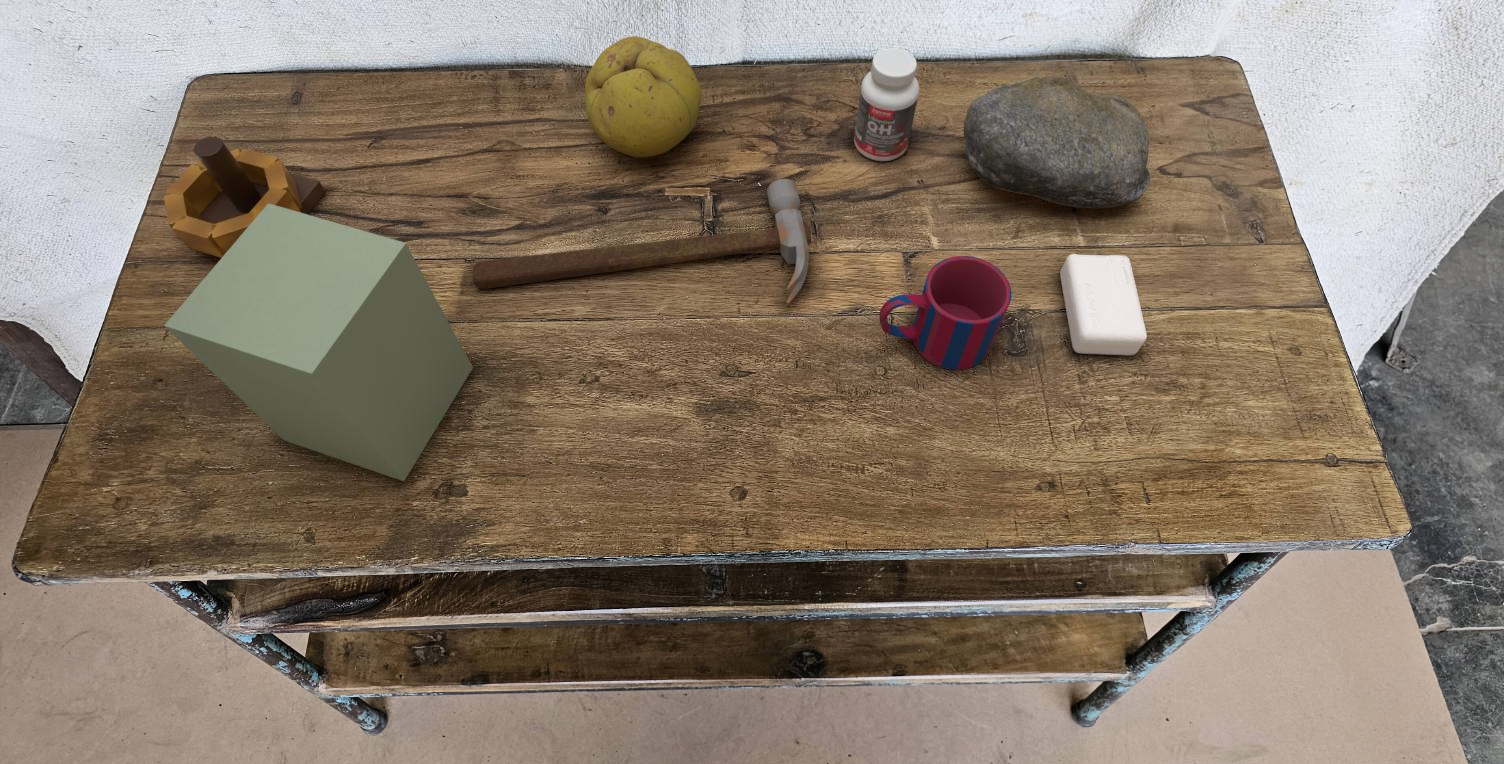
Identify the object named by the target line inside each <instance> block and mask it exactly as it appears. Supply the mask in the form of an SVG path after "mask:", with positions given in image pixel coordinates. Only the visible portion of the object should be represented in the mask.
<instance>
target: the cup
mask: <svg viewBox="0 0 1504 764" xmlns="http://www.w3.org/2000/svg"><path fill="white" fill-rule="evenodd" d="M1011 301H1012V288H1011V284H1010V281H1009V280H1008V278H1007V276H1006V275H1005V274H1004V272H1003V271H1002V270H1000V268H998V267H997V266H996V265H994V264H993V263H991V262H989V261H988V260H985V259H982V258H979V257H977V256H976V257H975V256H970V255H956V256H950V257H948V258H944V259H943V260H941V261H938V262H937V263H936V264H935V265H933V267H932V268H931V269H930V270H929V272H928V274H927V275H926V279H925V282H924V285H923V290H922V292H921V294H913V293H912V294H911V293H907V294H906V293H905V294H899V295H895V296H892V297H891V298H889V299H888V300H886V302H883V303H884V304H883V305H882V306H881V308H880V309H879V325H880V326H881V329H882V331H883V332H884V333H885V334H887V335H889V336H890V337H891V336H892V337H894V338H901V339H908V340H912V341H913V345H914V347H915V348H916V350H917V352H918V353H919V354H920V355H921V357H922V358H924V359H925V360H926V361H927V362H928V363H930V364H932V365H934V366H936V367H938V368H942V369H946V370H951V371H952V370H953V371H960V370H961V371H962V370H967V369H970V368H973V367H976V366H977V365H979V364H980V363H981V362H982V361H984V359H986V357H987V356H988V355H989V353H990V350H991V348H992V346H993V343H994V341H995V339H996V336H997V334H998V332H999V330H1000V327H1001V325H1002V324H1003V321H1004V318H1005V316H1006V313H1007V311H1008V309H1009V307H1010V304H1011ZM906 306H914V307H918V308H917V311H916V314H915V317H914V322H913V325H912V326H898V325H894V324H891V323H888V322H887V318H888V316H889V315H890V313H891V312H892V311H895V309H897V308H900V307H906Z"/></svg>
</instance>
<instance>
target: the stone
mask: <svg viewBox="0 0 1504 764" xmlns="http://www.w3.org/2000/svg"><path fill="white" fill-rule="evenodd" d="M963 137H964V147H965V148H964V150H965V154H966V156H967V159H968V161H969V165H970V167H971V168H972V169H973V171H974V172H975V174H976V176H978V178H979V179H980V180H982V181H983V182H984V183H985V184H987V186H989V187H990V188H993V189H997V190H1003V191H1006V192H1011V193H1013V194H1021V195H1029V196H1033V197H1035V198H1038V199H1042V200H1045V201H1048V202H1050V203H1054V204H1057V205H1061V206H1064V207H1065V206H1066V207H1071V208H1078V209H1111V208H1116V207H1119V206H1122V205H1127V204H1130V203H1133V202H1136V201H1138V200H1140V199H1141V198H1142V197H1143V195H1144V193H1145V191H1147V189H1148V187H1149V185H1150V181H1151V174H1150V172H1149V169H1148V168H1147V166H1148V162H1149V161H1148V159H1149V145H1150V139H1149V133H1148V130H1147V127H1146V124H1145V121H1144V118H1143V117H1142V114H1141V112H1140V111H1139V110H1138V108H1137V107H1136V106H1135V105H1134V104H1133V103H1132V102H1131V101H1130V100H1129V99H1127V98H1125V97H1123V96H1121V95H1119V94H1113V93H1099V94H1092V93H1090V92H1089V91H1086V90H1085V89H1084V88H1082V87H1080V86H1079V85H1078V84H1077V83H1076V82H1075V81H1073V80H1072V79H1070V78H1067V77H1063V76H1053V75H1049V76H1043V77H1040V76H1036V75H1035V76H1032V77H1029V78H1027V79H1024V80H1021V81H1018V82H1017V81H1016V82H1014V83H1010V84H1009V83H1008V84H1006V85H1001V86H998V87H996V88H994V89H992V90H990V91H988V92H987V93H986V94H984V95H981V96H979V97H976V99H974V100H972V101H971V103H970V104H969V106H968V108H967V110H966V115H965V119H964V125H963Z"/></svg>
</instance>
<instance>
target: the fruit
mask: <svg viewBox="0 0 1504 764" xmlns="http://www.w3.org/2000/svg"><path fill="white" fill-rule="evenodd" d="M702 96H703V95H702V88H701V85H700V82H699V80H698V79H697V76H696V74H695V72H694V70H693V68H692V67H691V64H690V63H689V61H688V60H687V59H686V57H685V56H684V55H683V54H682V53H681V52H679V51H677V50H675V49H673V48H672V49H671V48H668V47H666V46H665V45H663V44H662V43H659V42H657V41H653V40H651V39H649V38H645V37H642V36H627V37H624V38H622V39H619V40H618V41H616V42H614V43H612V44H610V45H609V46H607V47H606V48H605V49H604V50H603V51H602V52H601V53H600V54H599V56H598V57H597V58H596V60H595V62H594V64H593V66H592V67H591V69H590V70H589V72H588V75H587V77H586V80H585V84H584V99H585V115H586V118H587V120H588V123H589V125H590V127H591V129H592V130H593V132H594V133H595V134H596V135H597V136H598V138H600V140H601V141H602V142H603V143H604V144H605V145H607V146H608V147H609V148H611V149H613V150H614V151H617V152H619V153H621V154H625V155H627V156H630V157H633V158H649V157H655V156H658V155H662V154H664V153H666V152H668V151H670V150H671V149H673V148H675V147H676V146H677V145H678V144H680V143H681V142H682V141H683V140H684V139H685V138H686V137H687V136H688V135H690V133H691V132H692V131H693V129H694V128H695V126H696V123H697V120H698V115H699V113H700V108H701V104H702Z"/></svg>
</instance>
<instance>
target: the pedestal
mask: <svg viewBox="0 0 1504 764" xmlns="http://www.w3.org/2000/svg"><path fill="white" fill-rule="evenodd" d="M164 327H165V329H167V330H168V331H169V332H170V333H171V334H172V335H173V336H174V337H175V338H176V339H177V340H178V341H179V342H180V343H181V344H182V345H183V346H185V348H187V349H188V350H189V351H190V352H191V353H192V354H193V355H194V356H195V357H196V358H197V360H199V361H201V363H202V364H203V365H204V366H205V367H207V368H208V370H210V371H211V372H212V373H213V374H214V375H215V376H216V377H217V378H218V379H219V380H220V381H221V382H222V383H223V384H224V385H225V386H226V387H227V388H228V389H229V390H231V392H233V394H235V395H236V396H237V398H239V399H240V400H241V401H242V402H243V403H244V404H245V405H246V406H247V407H249V408H250V410H251V411H253V412H254V414H256V415H257V416H258V417H259V418H260V419H261V420H262V421H263V422H264V423H265V424H266V425H267V426H268V427H269V428H271V430H272V431H274V432H275V433H276V435H278V436H279V437H280V438H281V439H282V440H283V441H285V442H288V443H289V444H290V443H291V444H294V445H296V446H300V447H302V448H305V449H308V450H311V451H314V452H316V453H319V454H322V455H326V456H328V457H332V458H334V459H337V460H340V461H343V462H346V463H348V464H351V465H355V466H357V467H361V468H363V469H367V470H369V471H373V472H374V473H378V474H381V475H384V476H387V477H389V478H392V479H395V480H398V481H401V482H405V481H406V479H407V477H408V476H409V474H410V473H411V471H412V470H413V468H414V466H415V465H416V463H417V461H418V459H419V458H420V456H421V455H422V453H423V451H424V450H425V448H426V446H427V445H428V443H429V441H430V440H431V438H432V437H433V435H434V433H435V431H436V430H437V428H438V427H439V425H440V423H441V421H442V420H443V418H444V417H445V415H446V414H447V412H448V410H449V409H450V407H451V405H452V403H453V402H454V400H455V399H456V397H457V395H458V394H459V392H460V391H461V389H462V387H463V385H464V384H465V382H466V380H467V378H468V377H469V376H470V374H471V373H472V371H473V369H474V366H473V365H472V363H471V361H470V359H469V357H468V355H467V354H466V352H465V350H464V348H463V346H462V343H461V342H460V341H459V339H458V337H457V335H456V334H455V332H454V330H453V328H452V326H451V324H450V322H449V321H448V319H447V316H446V314H445V313H444V311H443V309H442V307H441V306H440V304H439V302H438V300H437V298H436V296H435V294H434V293H433V290H432V289H431V287H430V284H429V283H428V281H427V279H426V278H425V276H424V274H423V272H422V270H421V268H420V266H419V264H418V262H417V260H416V259H415V257H414V255H413V254H412V252H411V249H410V248H409V246H408V244H407V243H406V242H404V241H401V240H397V239H395V238H391V237H387V236H383V235H380V234H376V233H373V232H369V231H366V230H362V229H359V228H355V227H352V226H349V225H345V224H341V223H338V222H335V221H331V220H328V219H324V218H321V217H318V216H314V215H311V214H308V215H307V214H304V213H300V212H297V211H293V210H290V209H286V208H283V207H279V206H276V205H273V204H267V205H266V207H265V208H264V209H263V210H262V211H261V212H260V214H259V215H258V216H257V217H256V218H255V220H254V221H253V222H252V223H251V224H250V225H249V227H248V228H247V229H246V230H245V231H244V232H243V234H242V235H241V236H240V237H239V238H238V239H237V241H236V242H235V243H234V244H233V245H232V246H231V248H230V249H229V250H228V251H227V252H226V254H225V255H224V256H223V257H222V258H220V260H218V262H217V263H216V264H215V265H214V267H213V268H212V269H211V270H210V271H209V272H208V273H207V274H206V275H205V276H204V278H203V279H202V280H201V282H200V283H199V284H198V285H197V286H196V287H195V289H194V290H193V291H192V292H191V293H190V294H189V295H188V296H187V298H186V299H185V300H184V302H183V303H182V304H181V305H180V306H179V307H178V309H177V310H175V312H174V313H173V314H172V316H171V317H170V318H169V319H168V320H167V322H166V323H165V324H164Z"/></svg>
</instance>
